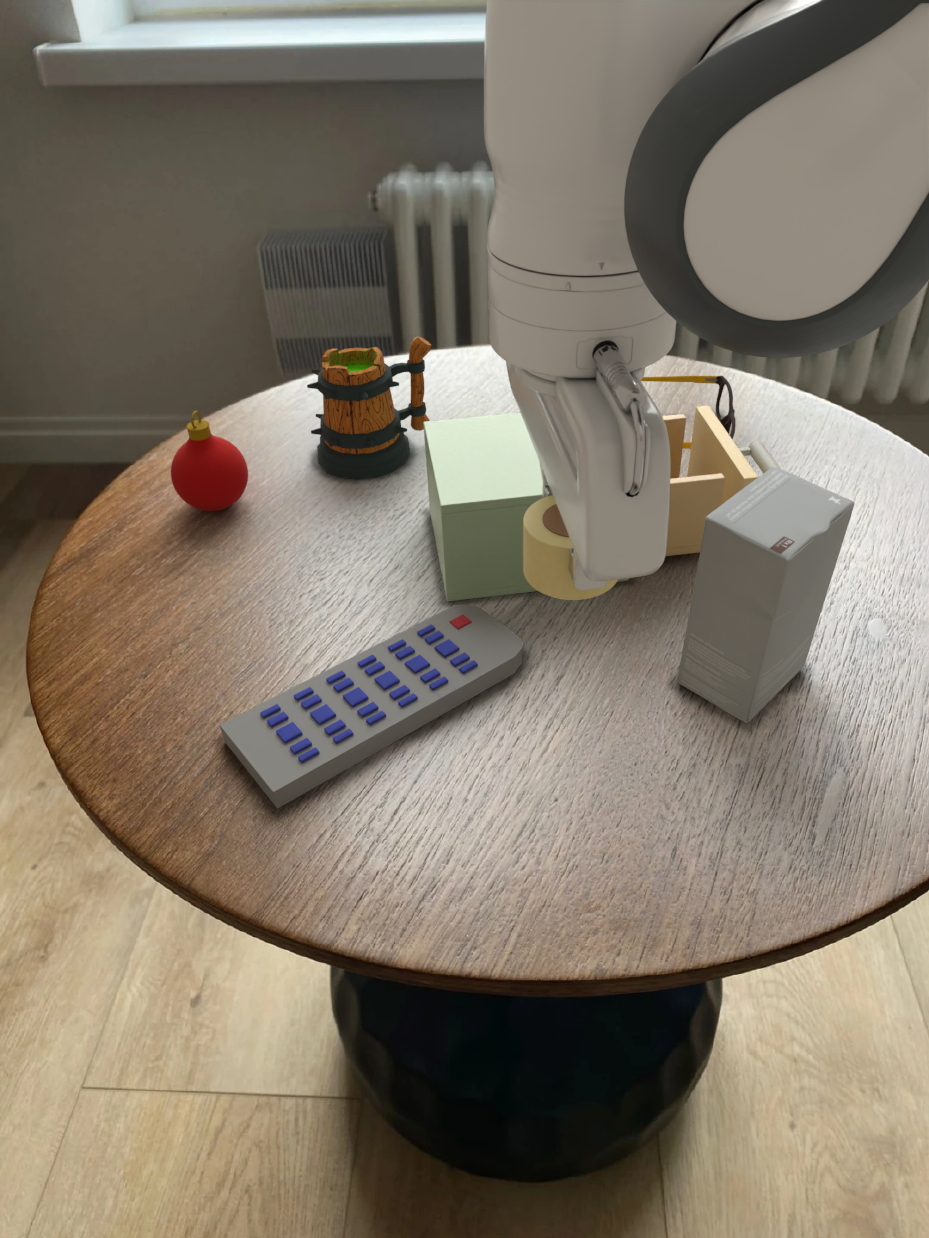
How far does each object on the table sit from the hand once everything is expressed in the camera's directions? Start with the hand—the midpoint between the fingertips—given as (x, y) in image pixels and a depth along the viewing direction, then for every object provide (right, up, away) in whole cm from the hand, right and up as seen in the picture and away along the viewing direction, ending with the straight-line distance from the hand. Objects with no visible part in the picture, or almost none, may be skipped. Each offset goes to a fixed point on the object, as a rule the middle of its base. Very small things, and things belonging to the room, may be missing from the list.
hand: (572, 544), depth 54 cm
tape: (0, -1, +1) cm, 2 cm away
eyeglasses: (+14, +14, +46) cm, 50 cm away
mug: (-15, +13, +46) cm, 50 cm away
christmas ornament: (-30, +7, +40) cm, 50 cm away
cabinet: (-1, +2, +33) cm, 33 cm away
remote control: (-12, -11, +18) cm, 24 cm away
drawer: (+12, +5, +33) cm, 35 cm away
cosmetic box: (+15, -9, +18) cm, 25 cm away
